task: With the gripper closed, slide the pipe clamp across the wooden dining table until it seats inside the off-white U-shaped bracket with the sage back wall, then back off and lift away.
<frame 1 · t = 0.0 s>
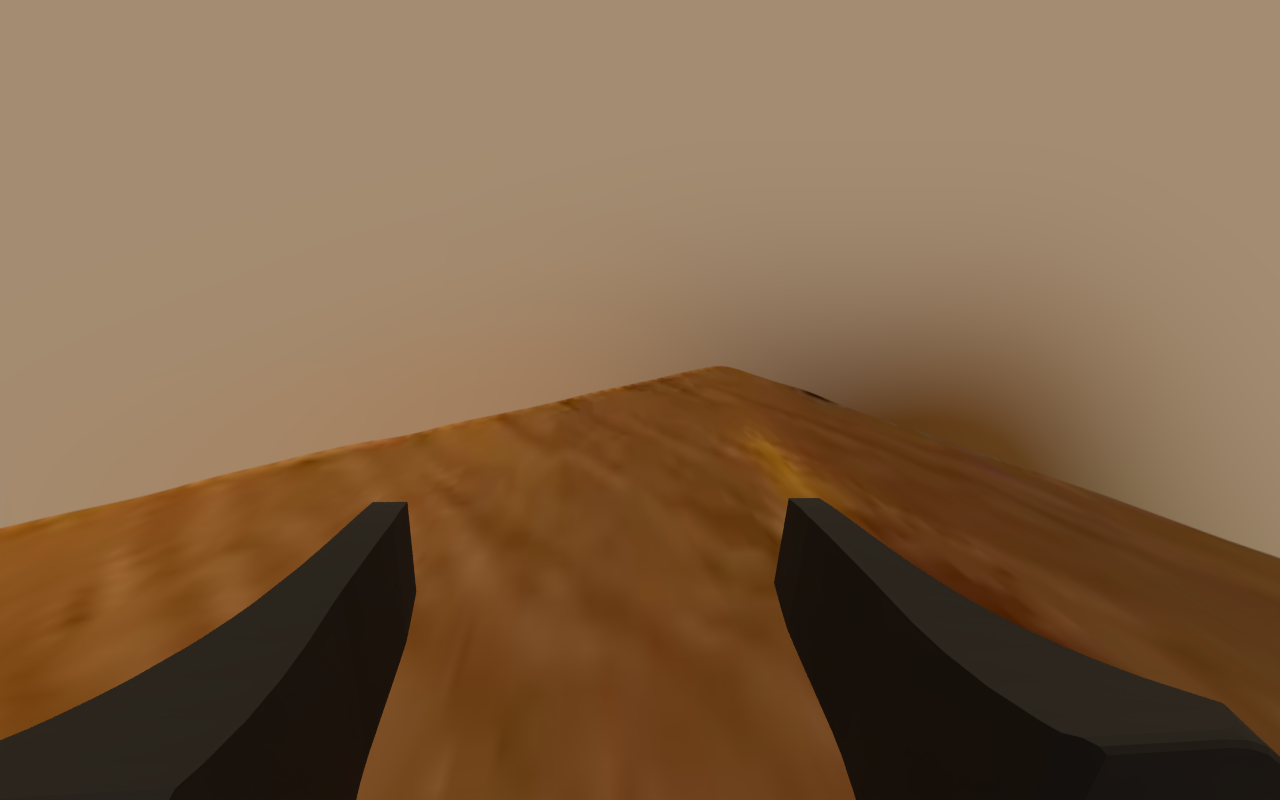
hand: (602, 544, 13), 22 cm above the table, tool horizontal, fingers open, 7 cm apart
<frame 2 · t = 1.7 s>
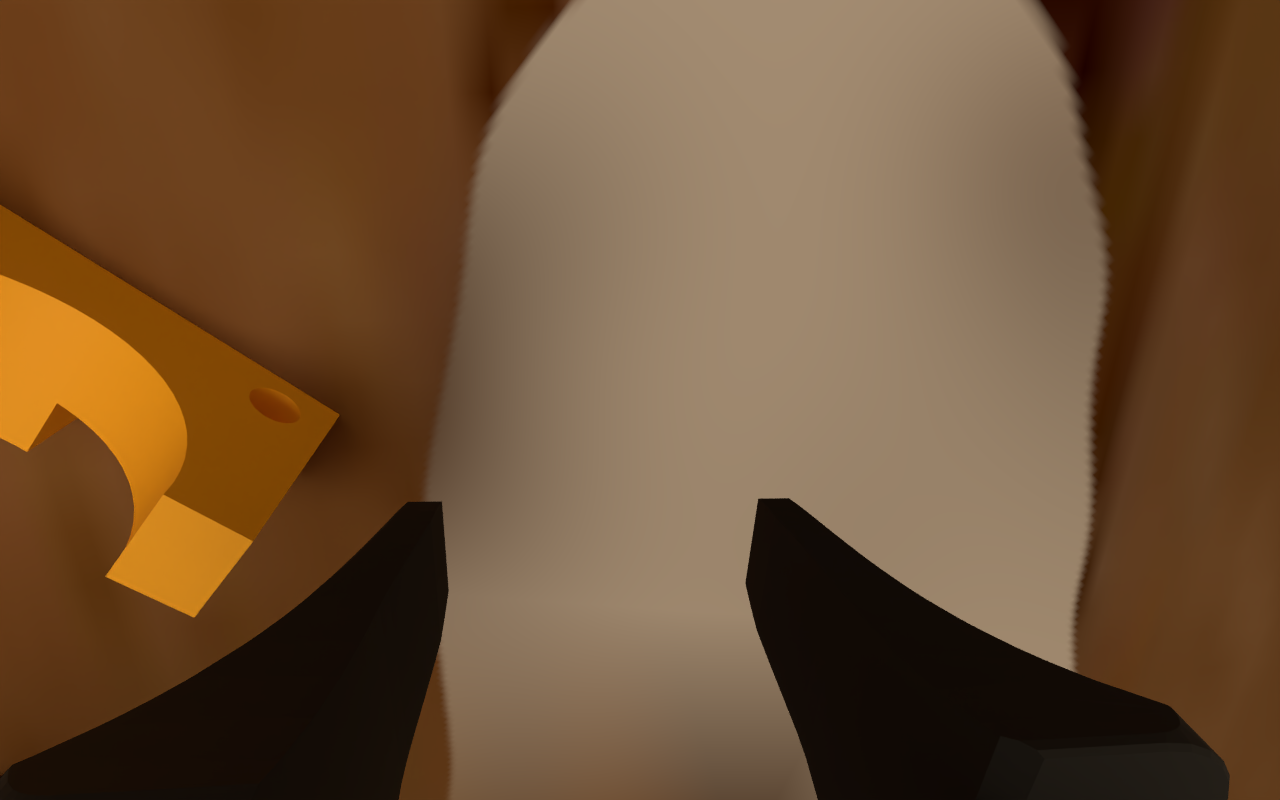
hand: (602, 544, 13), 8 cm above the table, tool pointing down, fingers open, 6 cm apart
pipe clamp: (109, 344, 19), on the table
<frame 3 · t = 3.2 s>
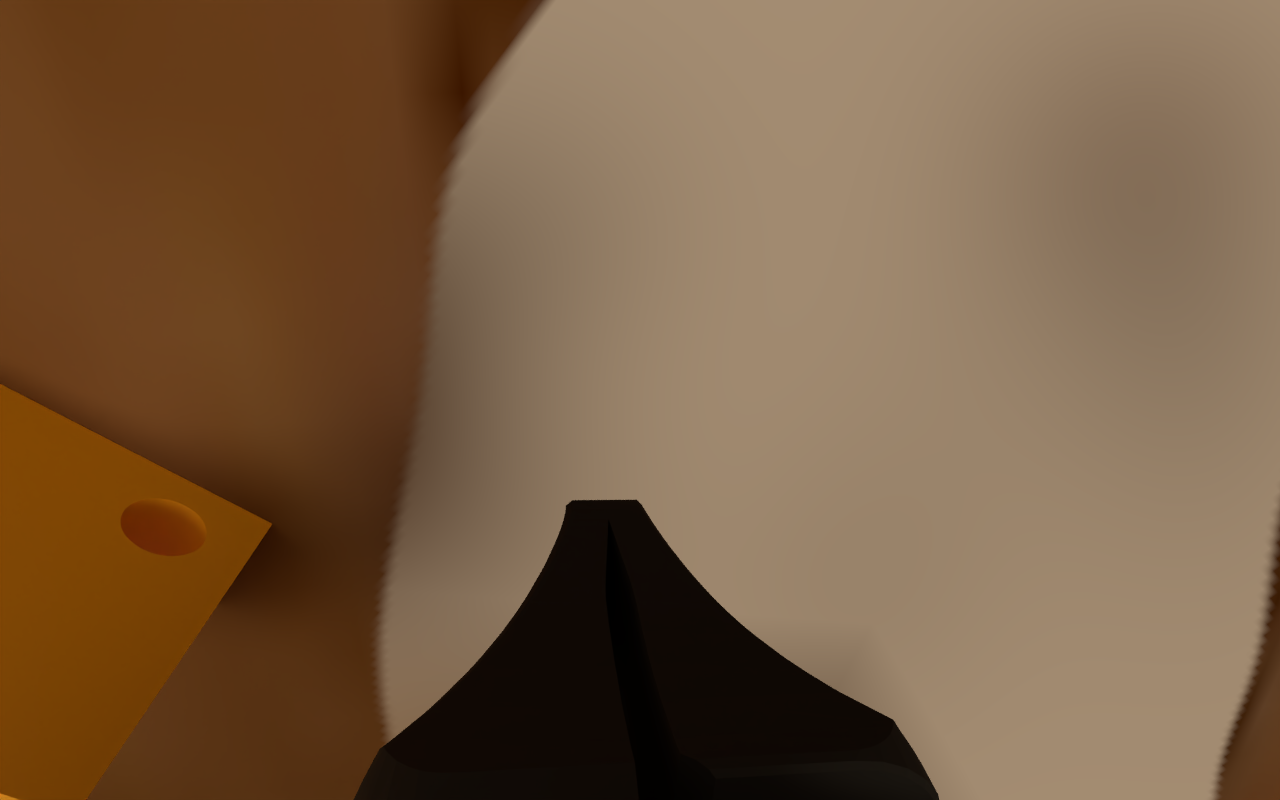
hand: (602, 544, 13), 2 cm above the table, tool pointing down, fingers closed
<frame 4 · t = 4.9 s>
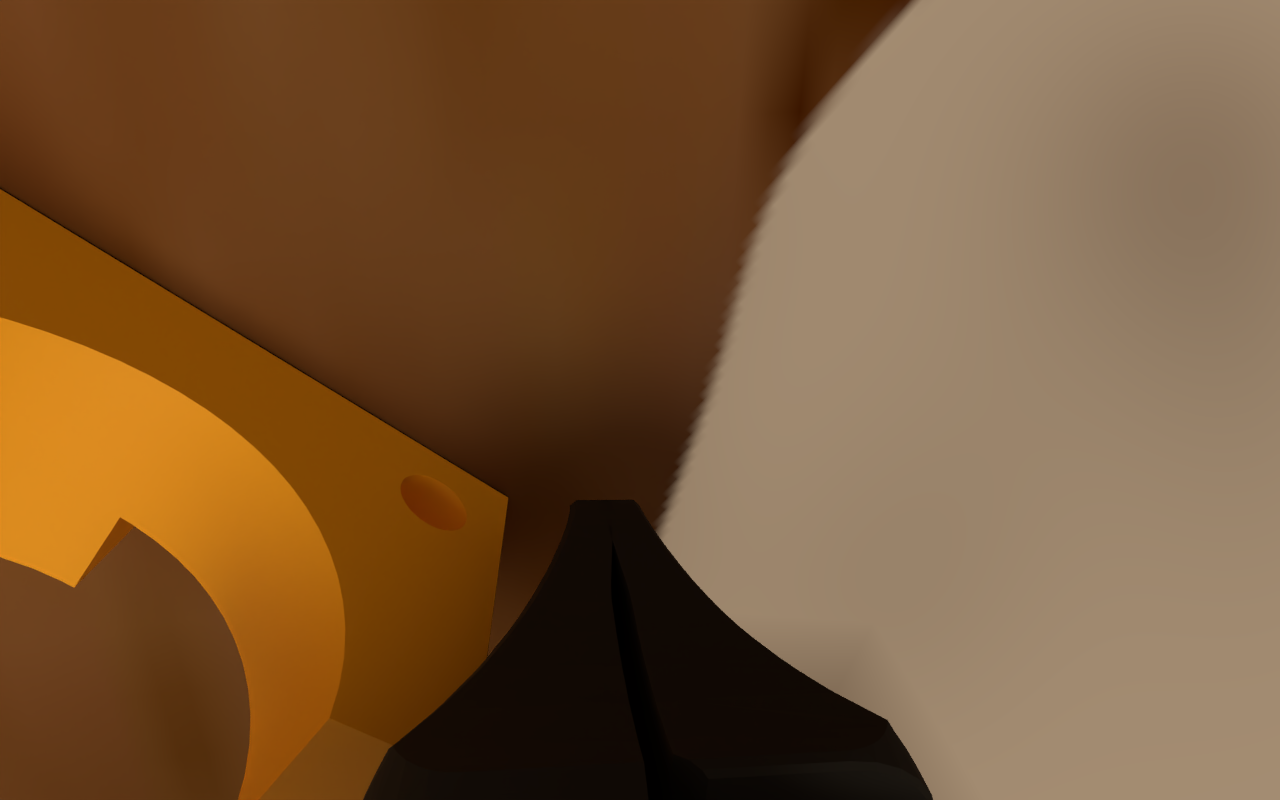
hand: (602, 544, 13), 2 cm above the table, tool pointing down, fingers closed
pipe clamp: (186, 412, 13), on the table, touching gripper
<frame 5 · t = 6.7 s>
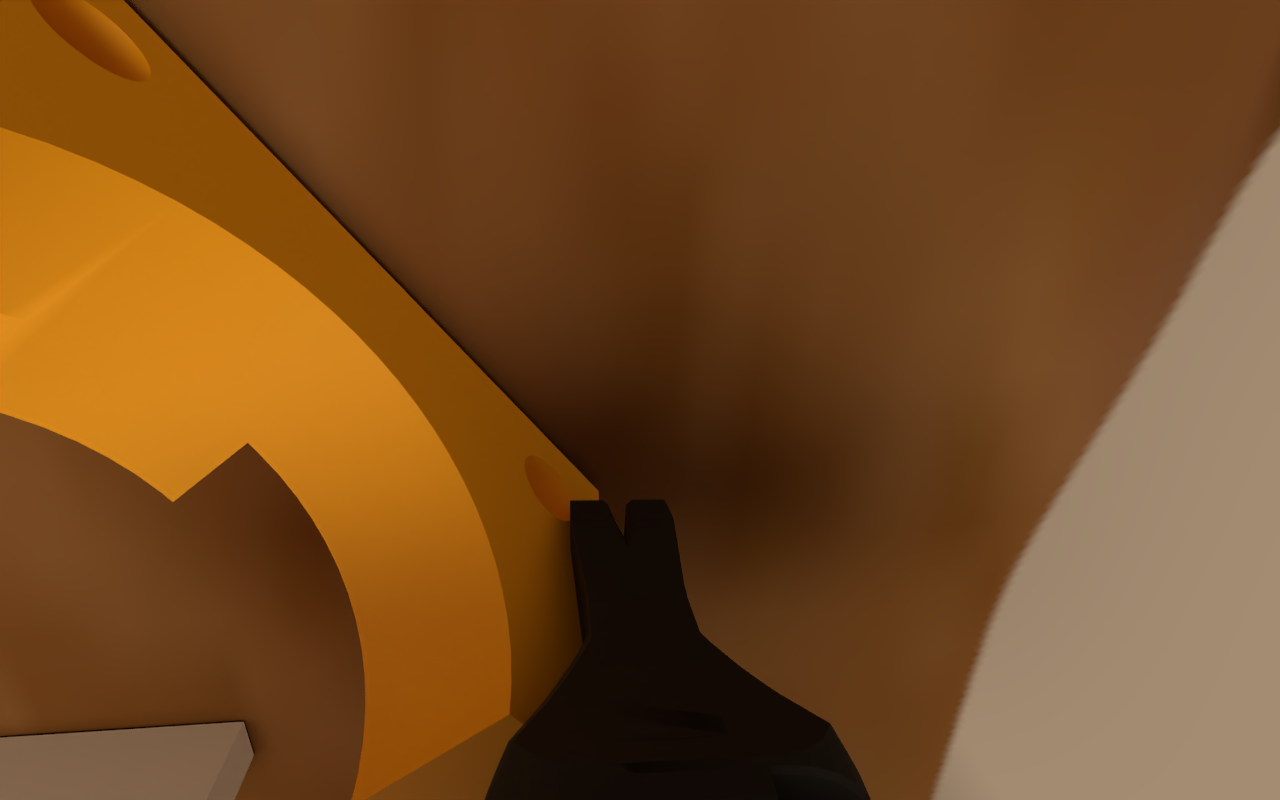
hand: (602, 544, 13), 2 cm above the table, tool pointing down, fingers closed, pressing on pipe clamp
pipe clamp: (304, 339, 12), on the table, touching bracket, gripper
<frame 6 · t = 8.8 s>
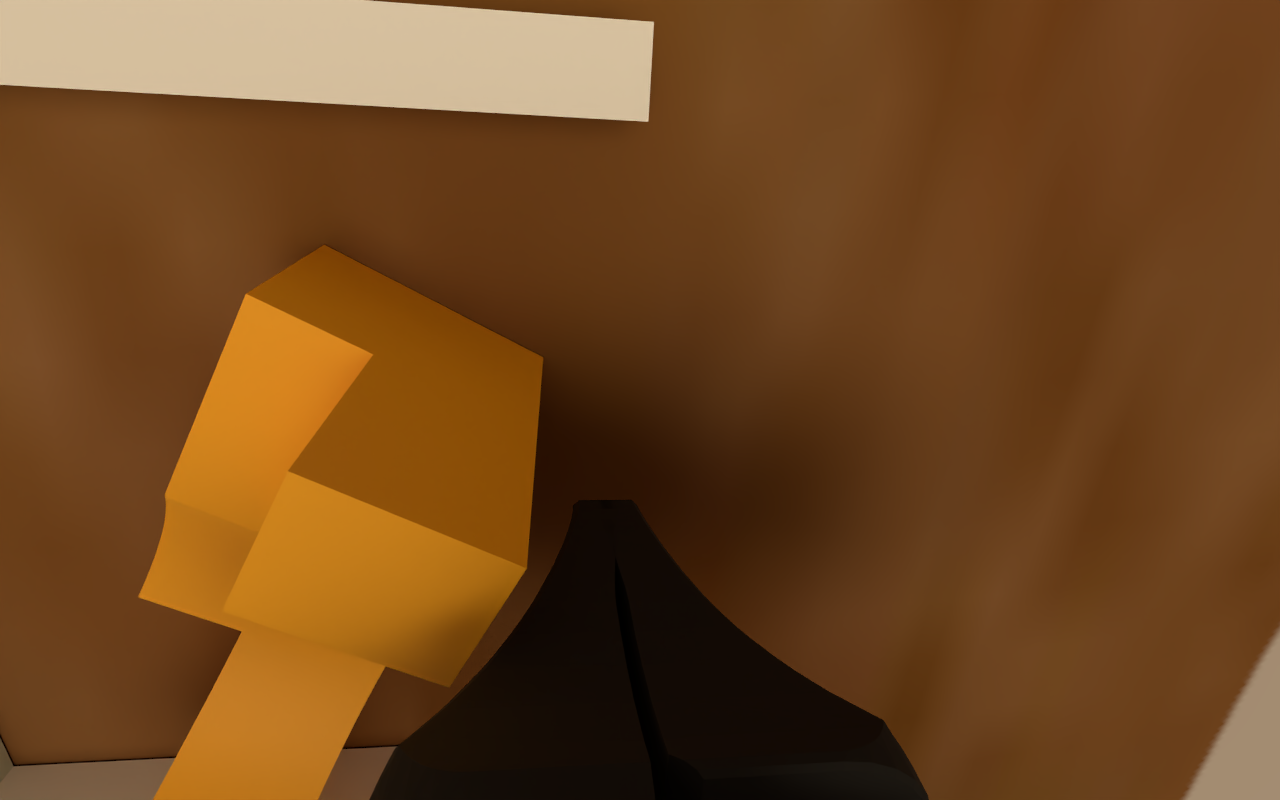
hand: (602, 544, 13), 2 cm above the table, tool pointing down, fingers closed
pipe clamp: (321, 535, 14), on the table, touching gripper
bracket: (272, 494, 14), on the table
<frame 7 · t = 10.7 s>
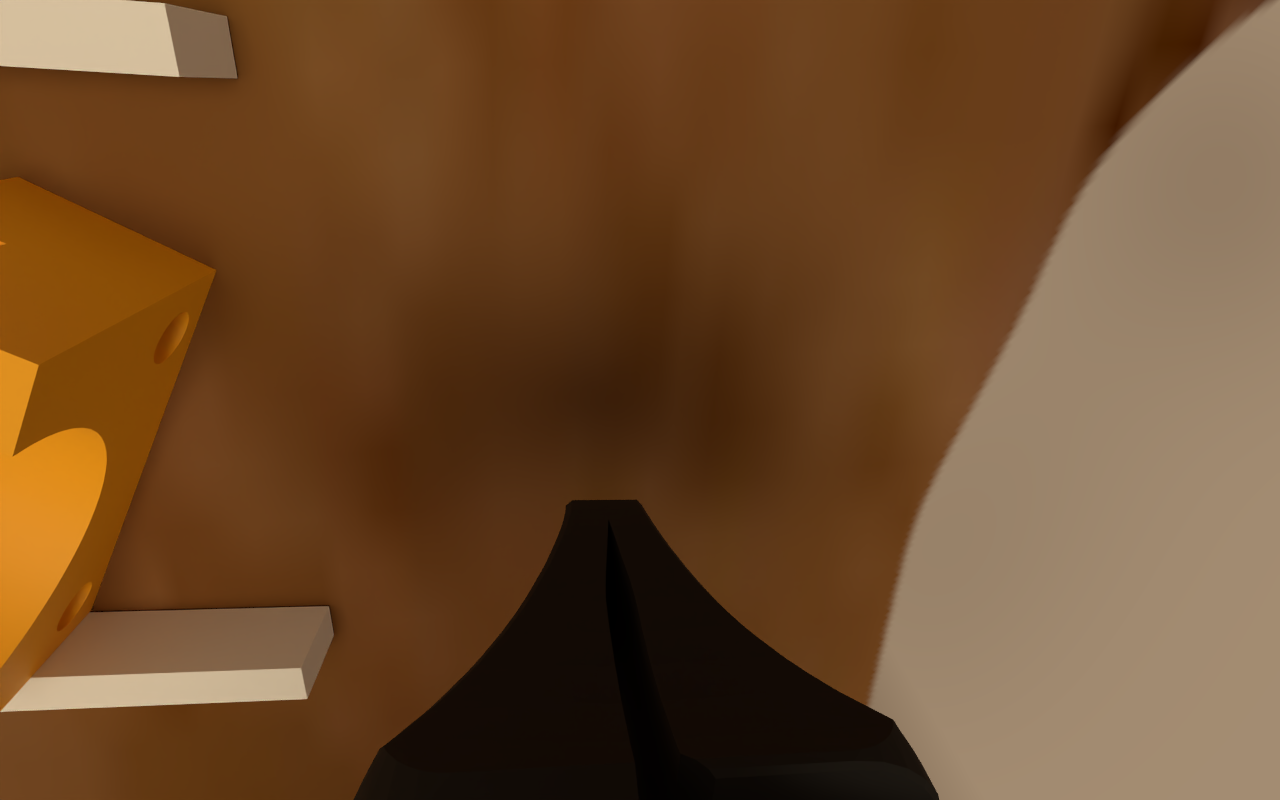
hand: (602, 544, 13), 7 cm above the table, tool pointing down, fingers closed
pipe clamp: (69, 417, 18), on the table
bracket: (2, 384, 17), on the table
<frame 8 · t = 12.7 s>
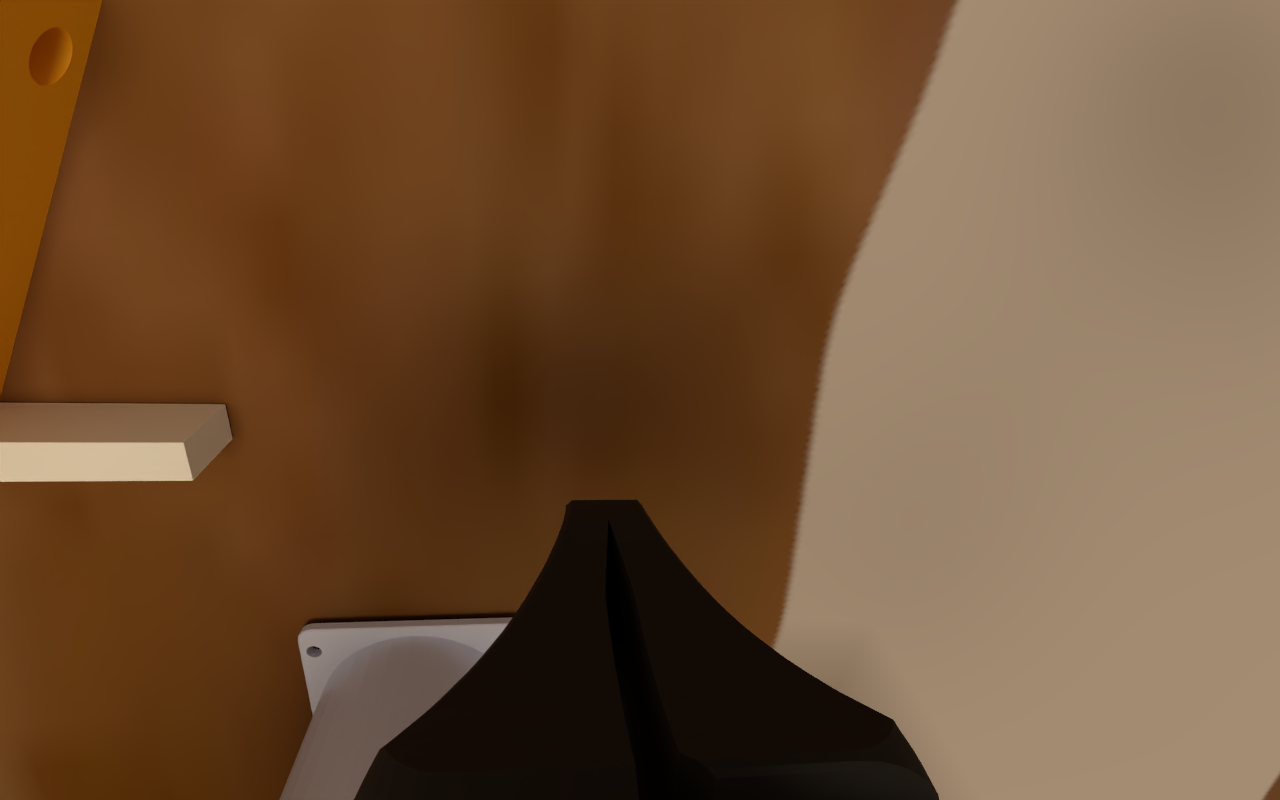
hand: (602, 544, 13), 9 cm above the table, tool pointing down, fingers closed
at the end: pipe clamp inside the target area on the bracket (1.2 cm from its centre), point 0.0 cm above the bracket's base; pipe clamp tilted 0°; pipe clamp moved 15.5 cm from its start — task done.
